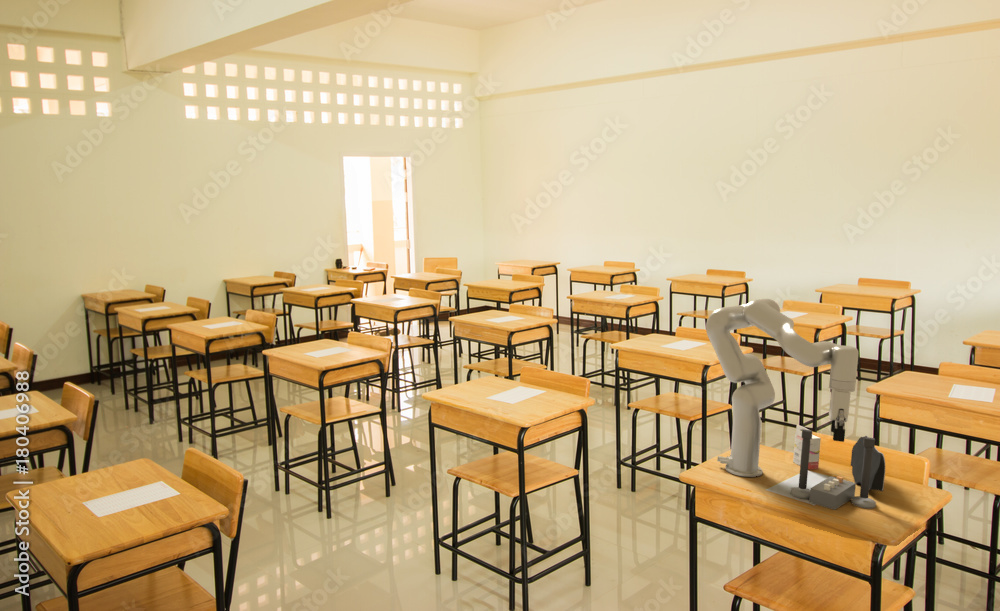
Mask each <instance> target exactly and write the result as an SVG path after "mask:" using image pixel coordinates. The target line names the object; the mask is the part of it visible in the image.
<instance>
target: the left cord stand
mask: <svg viewBox="0 0 1000 611" xmlns="http://www.w3.org/2000/svg"><path fill="white" fill-rule="evenodd" d="M801 431H802V438H803V440H802V452H801V464H800V465H799V475H798V476H799V477H798V478H799V479H798V487H797V486H795V487H794V486H793V487H791V488H790V495H791V494H792V496H793V495H794V496H793V497H795V496H796V498H797V497H799V498H798V499H802V498H803V499H804V500H810V488H807V487H808V486H807V485H808V476H809V474H808V473H809V470H808V464H809V452H810V439H812V434H813V430H812V429H811V430H810V429H809V430H804V429H801Z"/></svg>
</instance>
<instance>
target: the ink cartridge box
mask: <svg viewBox="0 0 1000 611" xmlns="http://www.w3.org/2000/svg"><path fill="white" fill-rule="evenodd" d="M795 428H796V429H795V433H794V445H793V446H794V447H793V448H794V449H793V460H792V462H793V463H794V464H796V465H798V466H800V464H801V452H802V440H803V438H802V429H804V430H810V429H808V428H806V427H804V426H803V425H800V424H796V427H795ZM820 451H821V437H819V436H816V435H814V434H813V433H812V439H810V452H809V464H808V469H809V470H819V465H820Z"/></svg>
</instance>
